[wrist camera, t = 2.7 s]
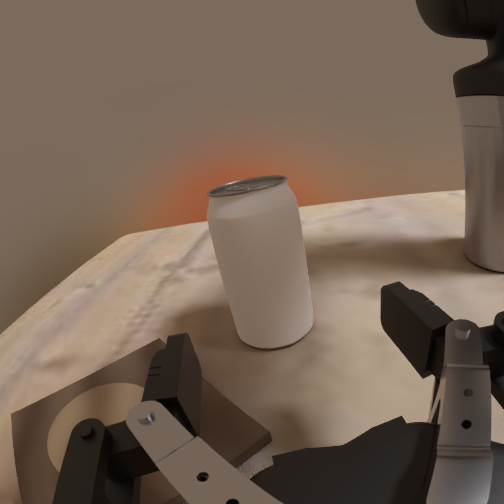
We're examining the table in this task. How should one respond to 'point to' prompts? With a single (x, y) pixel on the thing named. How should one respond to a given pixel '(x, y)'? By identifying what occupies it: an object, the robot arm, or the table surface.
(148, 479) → the rest board
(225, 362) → the table surface
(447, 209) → the table surface
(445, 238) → the table surface
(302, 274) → the can
